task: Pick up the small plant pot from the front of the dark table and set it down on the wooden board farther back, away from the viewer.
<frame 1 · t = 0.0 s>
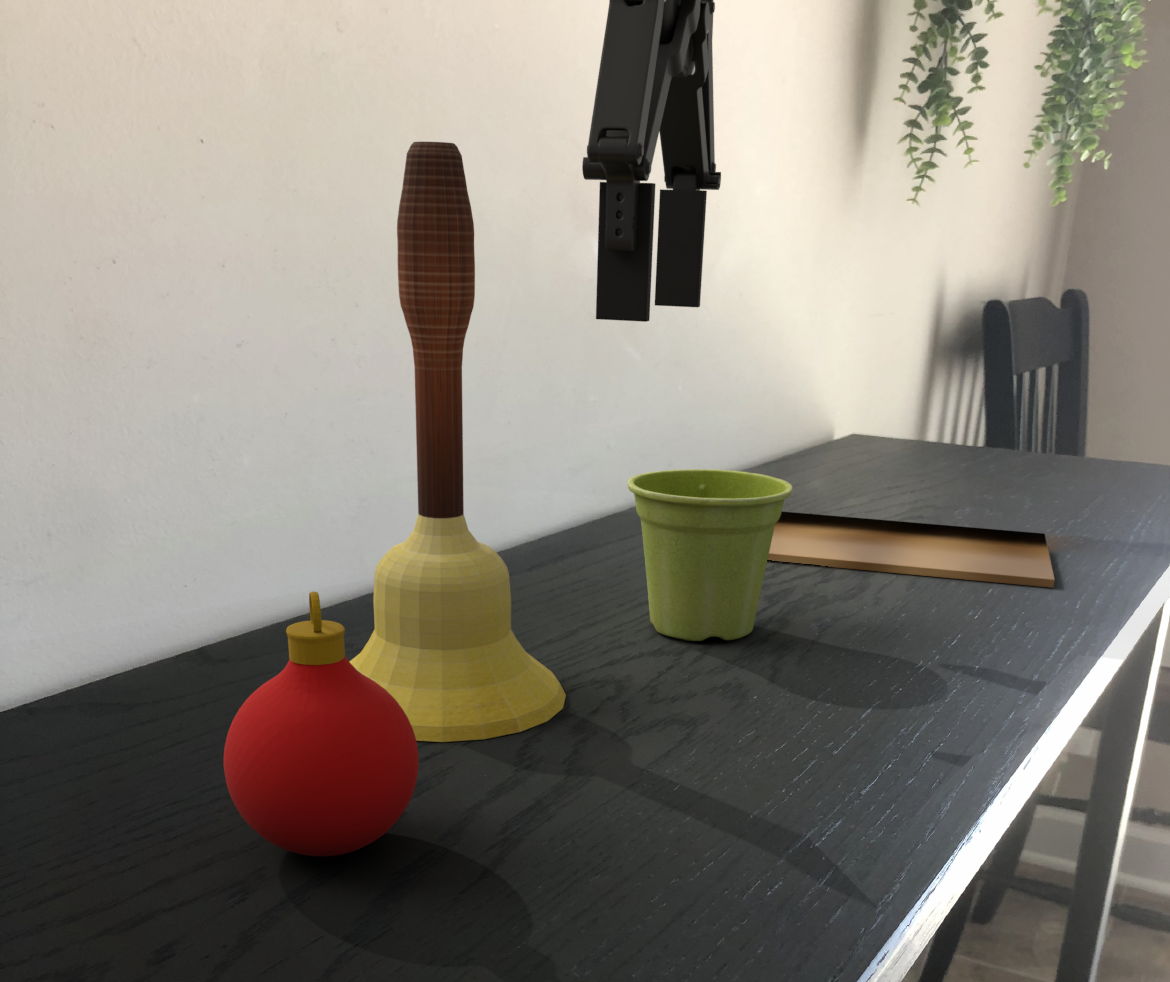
hand: (652, 313, 72), 17 cm above the table, tool pointing down, fingers open, 13 cm apart
plant pot: (700, 631, 76), on the table
christmas ornament: (328, 850, 49), on the table
handbell: (444, 699, 64), on the table
wooden board: (896, 544, 97), on the table
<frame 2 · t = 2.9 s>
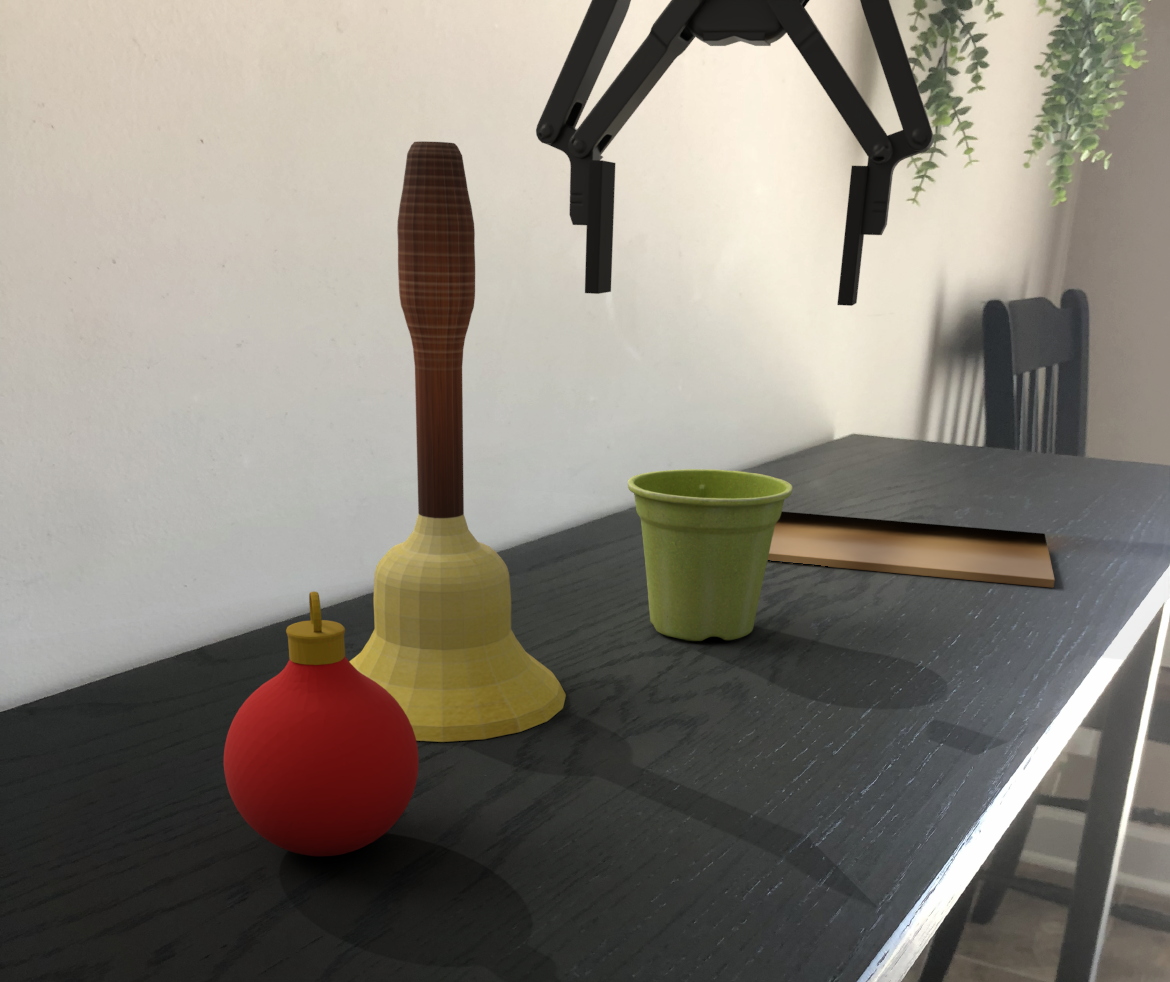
hand: (719, 299, 68), 18 cm above the table, tool pointing down, fingers open, 13 cm apart
nothing on the table moved.
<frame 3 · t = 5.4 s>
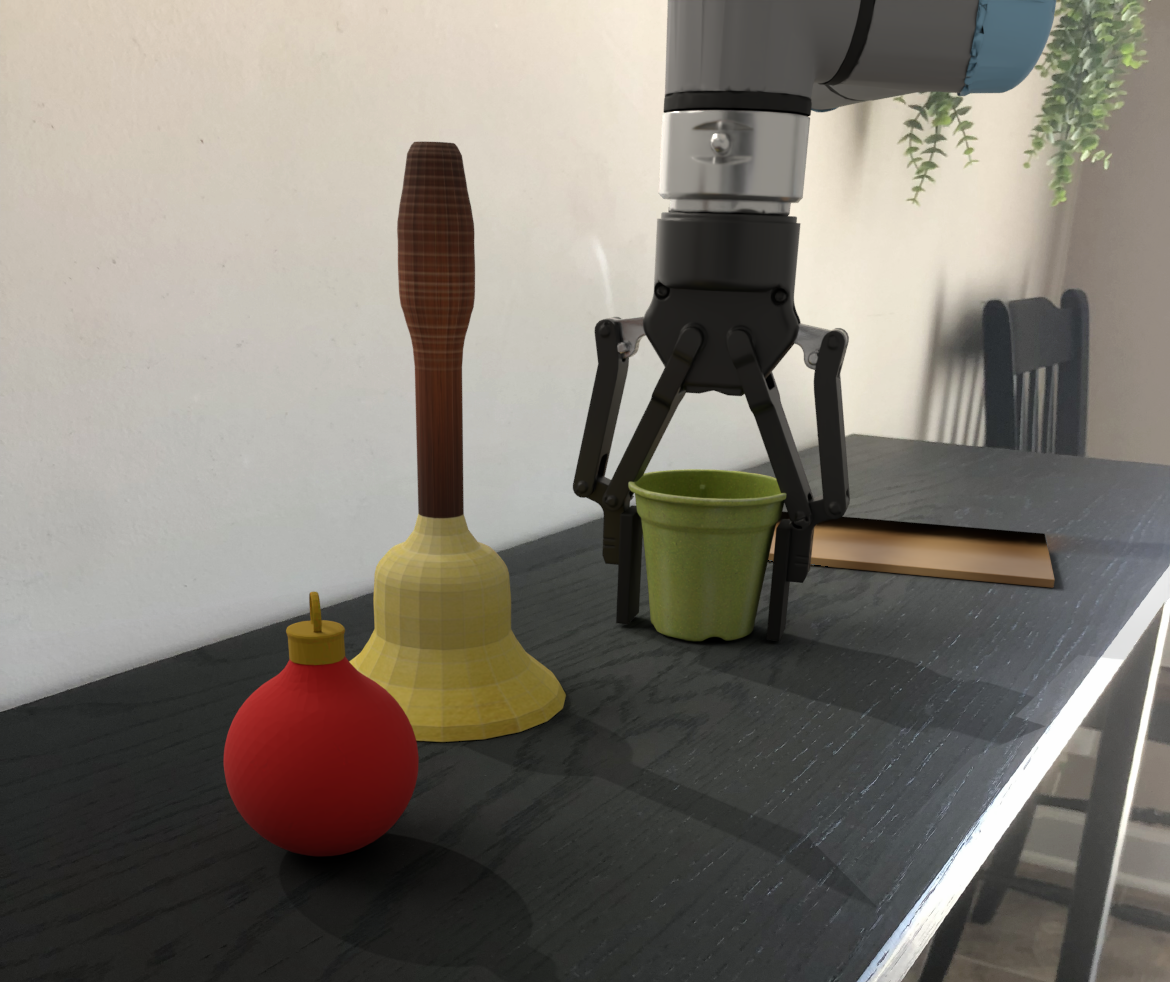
hand: (700, 625, 75), 0 cm above the table, tool pointing down, fingers closed on plant pot, 8 cm apart
plant pot: (700, 632, 76), on the table, touching gripper
everything else where it was.
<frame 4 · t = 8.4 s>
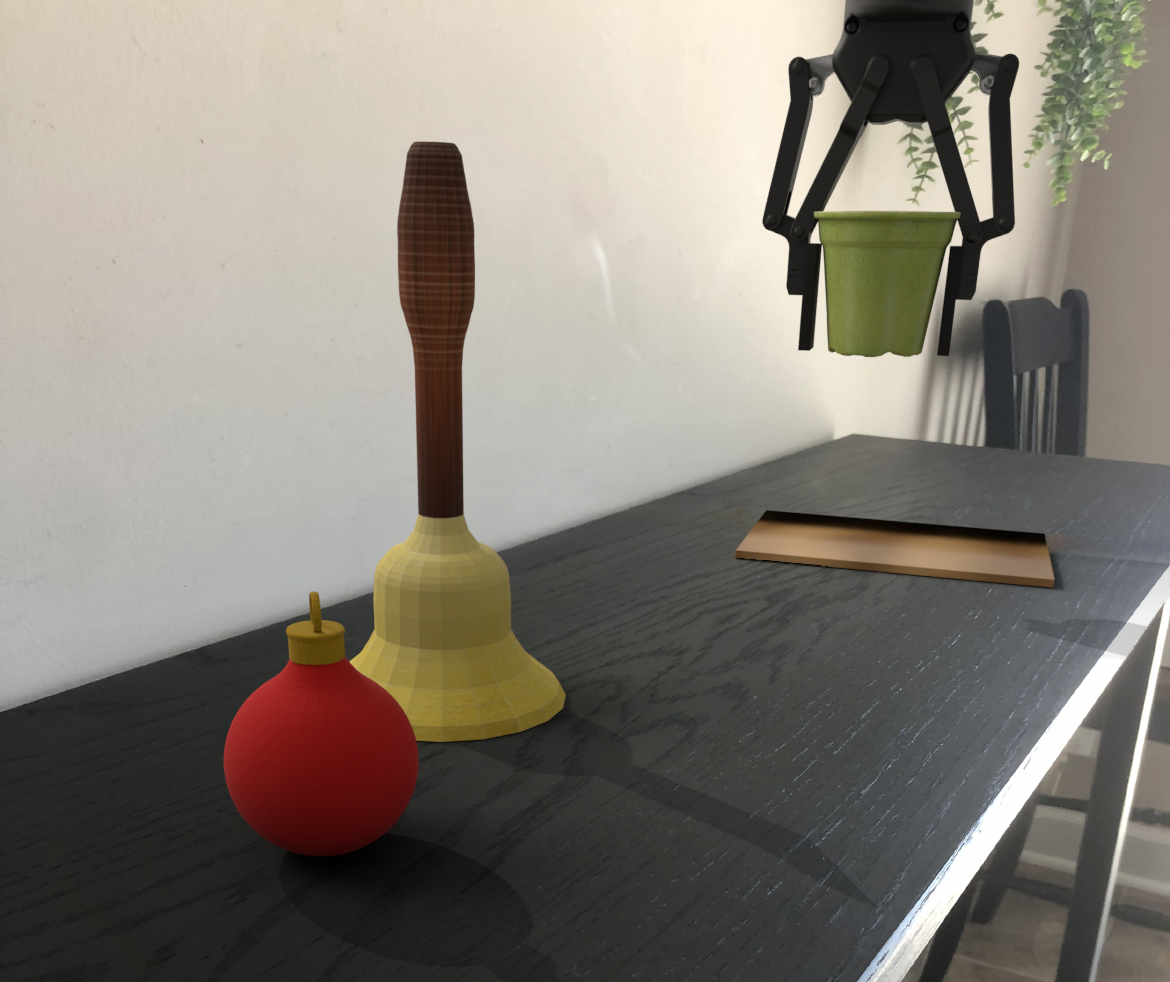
hand: (873, 350, 84), 15 cm above the table, tool pointing down, fingers closed on plant pot, 8 cm apart
plant pot: (872, 357, 84), point 14 cm above the table, touching gripper
everything else where it was.
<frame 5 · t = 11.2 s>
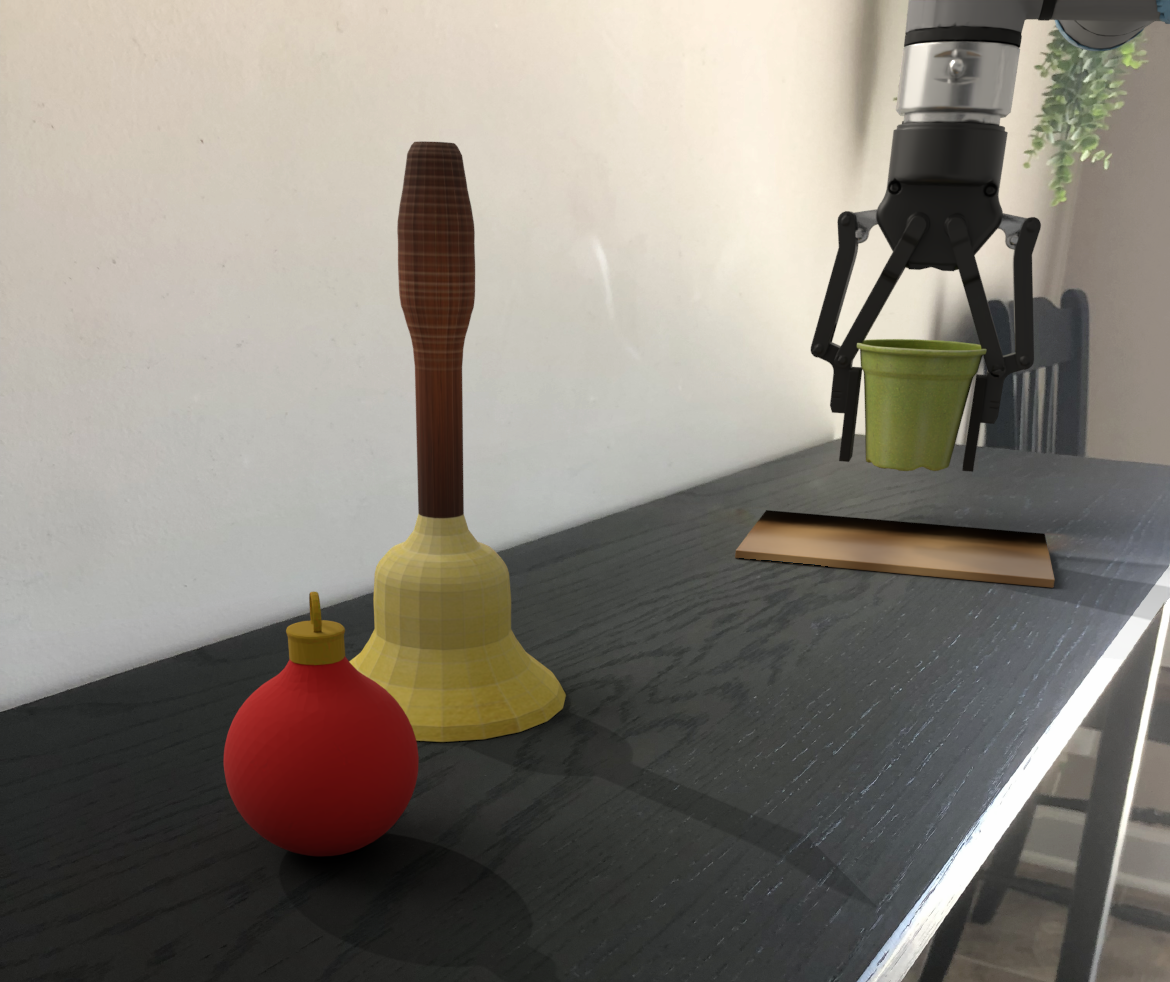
hand: (906, 463, 95), 6 cm above the table, tool pointing down, fingers closed on plant pot, 8 cm apart
plant pot: (905, 468, 95), point 6 cm above the table, touching gripper
everything else where it was.
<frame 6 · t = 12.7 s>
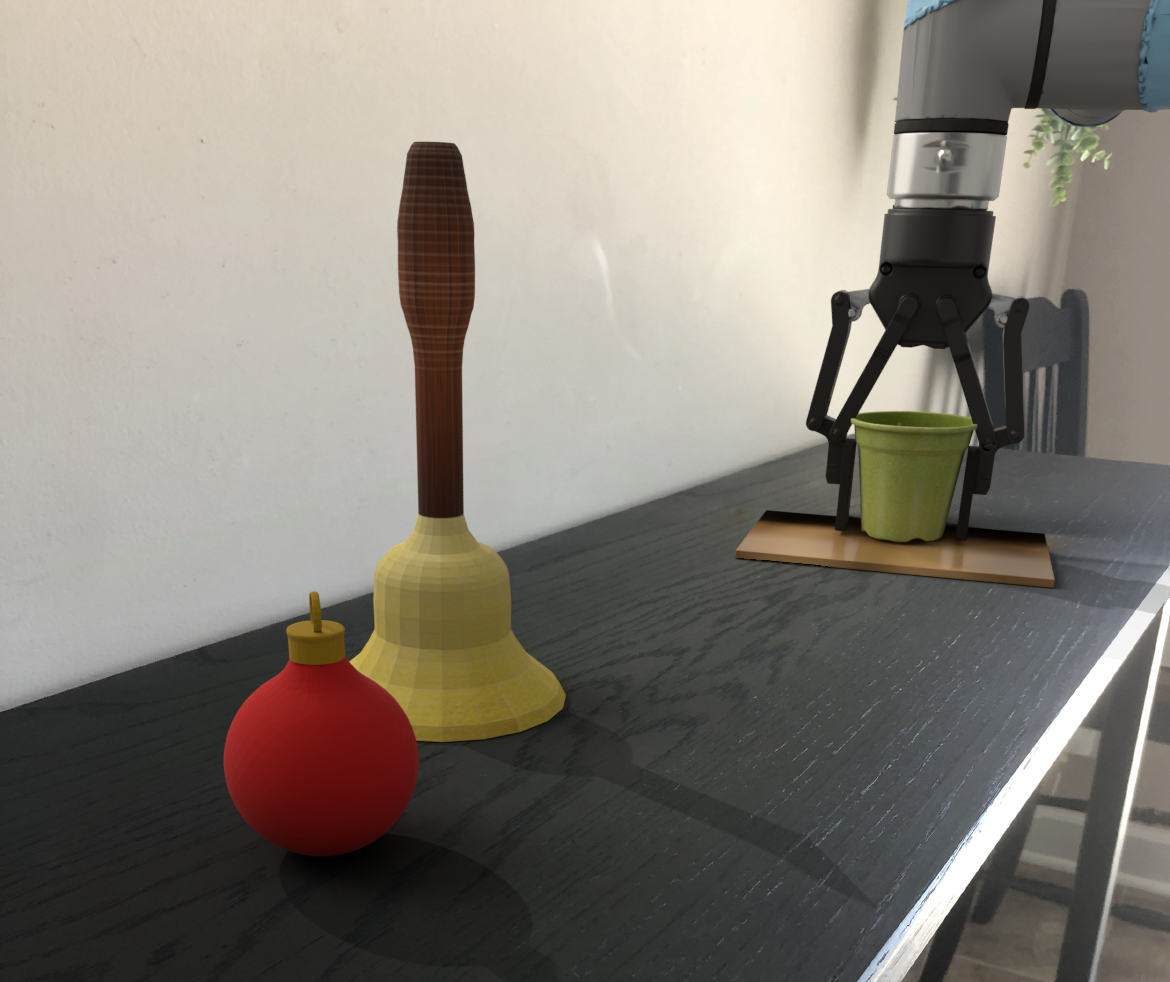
hand: (900, 531, 97), 1 cm above the table, tool pointing down, fingers closed on plant pot, 8 cm apart
plant pot: (900, 537, 97), point 1 cm above the table, touching gripper
everything else where it was.
when the fingers open (1 cm above the table, at t = 17.3 s): plant pot stays where it is, resting on wooden board.
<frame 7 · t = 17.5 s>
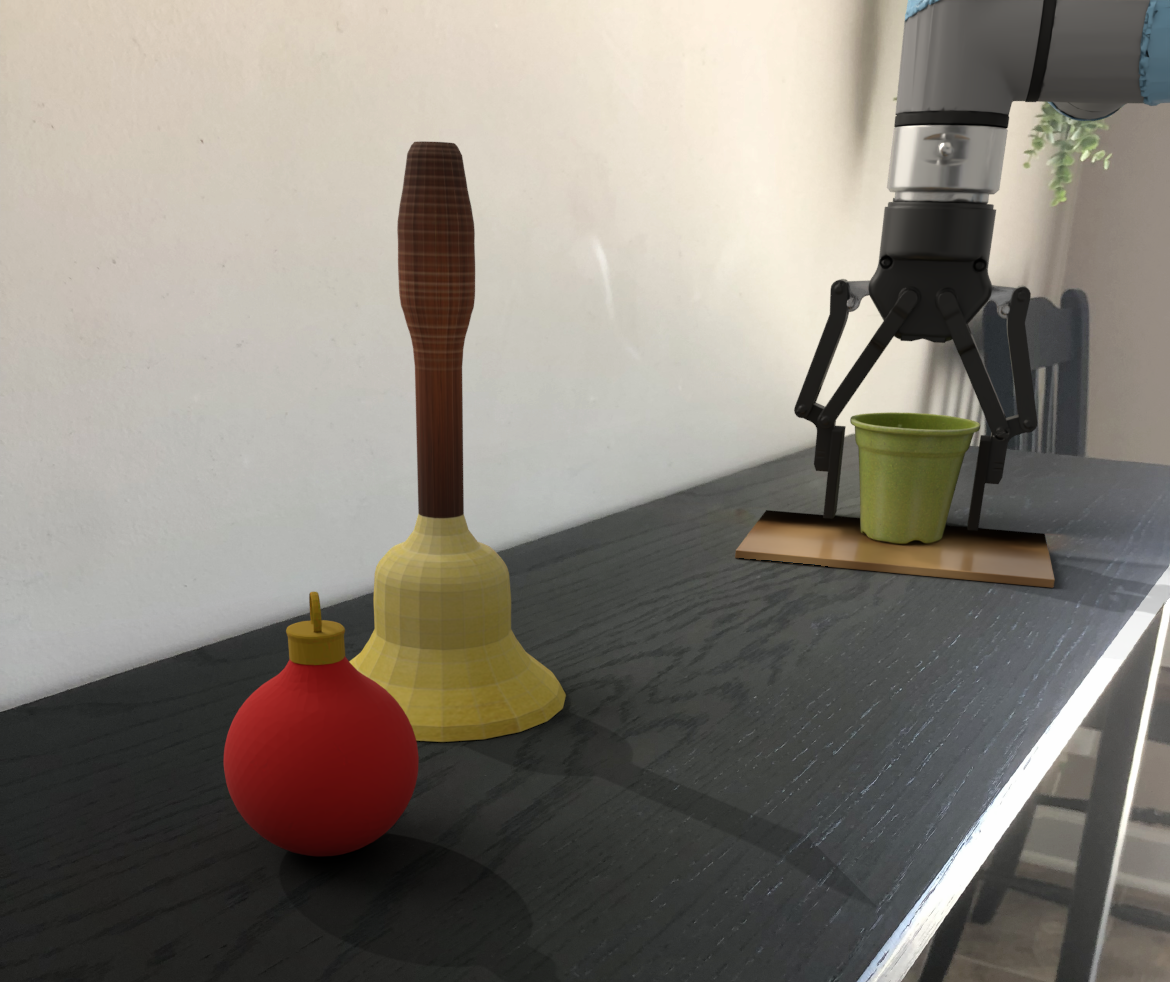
hand: (900, 520, 96), 2 cm above the table, tool pointing down, fingers open, 10 cm apart
plant pot: (899, 539, 97), resting on wooden board
everything else where it was.
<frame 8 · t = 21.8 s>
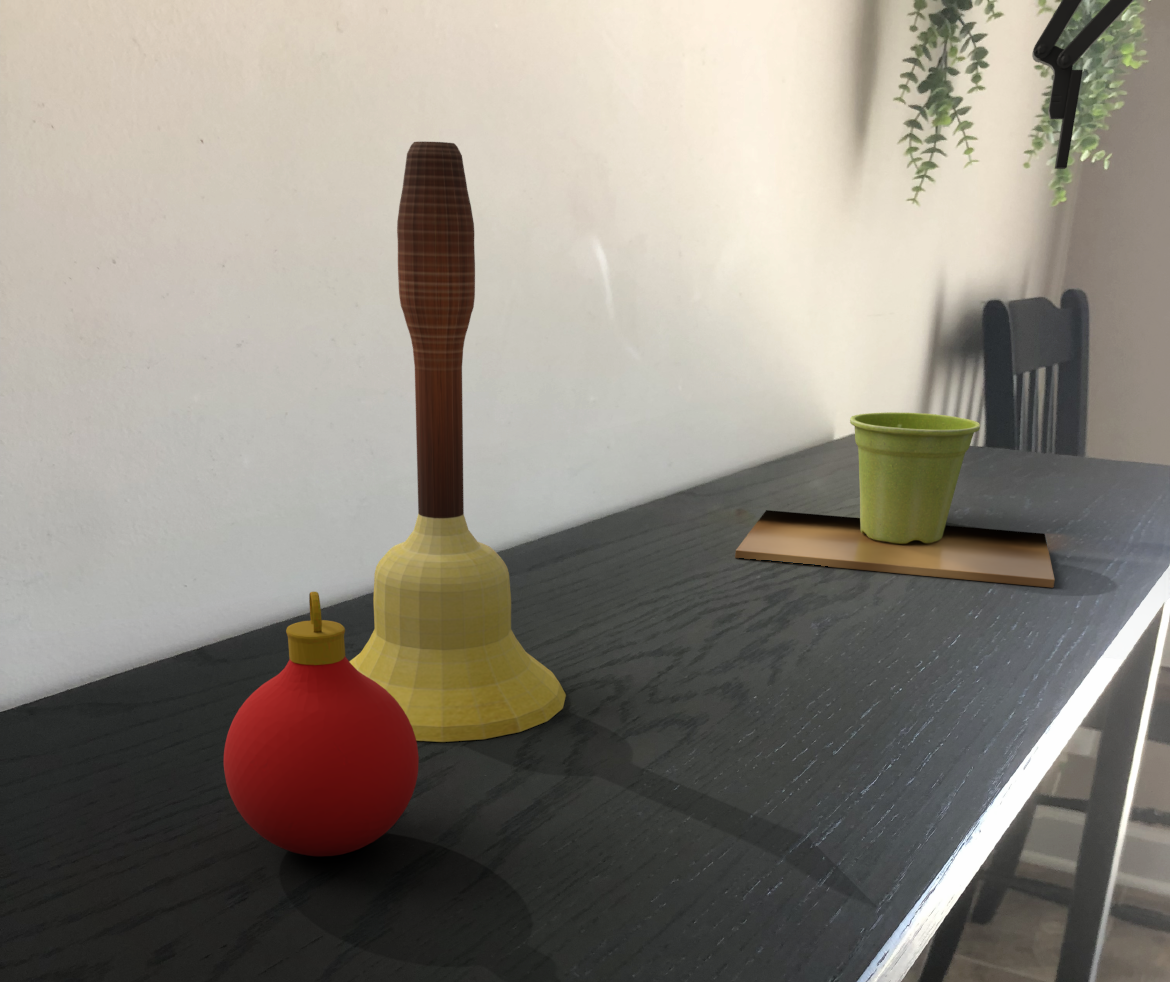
hand: (1154, 170, 96), 27 cm above the table, tool pointing down, fingers open, 13 cm apart
nothing on the table moved.
at the end: plant pot inside the target area on the wooden board (0.1 cm from its centre), point 0.4 cm above the wooden board's base; plant pot tilted 0°; plant pot moved 29.0 cm from its start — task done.
